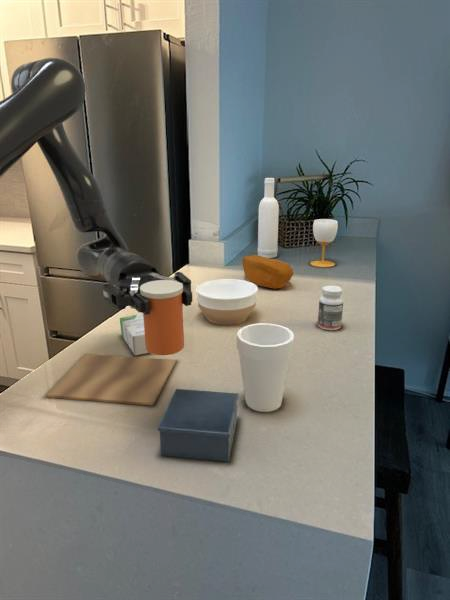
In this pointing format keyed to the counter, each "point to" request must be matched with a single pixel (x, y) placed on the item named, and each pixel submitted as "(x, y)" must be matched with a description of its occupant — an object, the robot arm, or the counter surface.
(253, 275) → the bread
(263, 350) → the foam cup
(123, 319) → the ink box
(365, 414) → the counter surface
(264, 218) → the bottle
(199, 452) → the tin
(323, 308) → the pill bottle
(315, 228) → the cup
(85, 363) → the cutting board
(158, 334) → the tub
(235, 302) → the bowl
